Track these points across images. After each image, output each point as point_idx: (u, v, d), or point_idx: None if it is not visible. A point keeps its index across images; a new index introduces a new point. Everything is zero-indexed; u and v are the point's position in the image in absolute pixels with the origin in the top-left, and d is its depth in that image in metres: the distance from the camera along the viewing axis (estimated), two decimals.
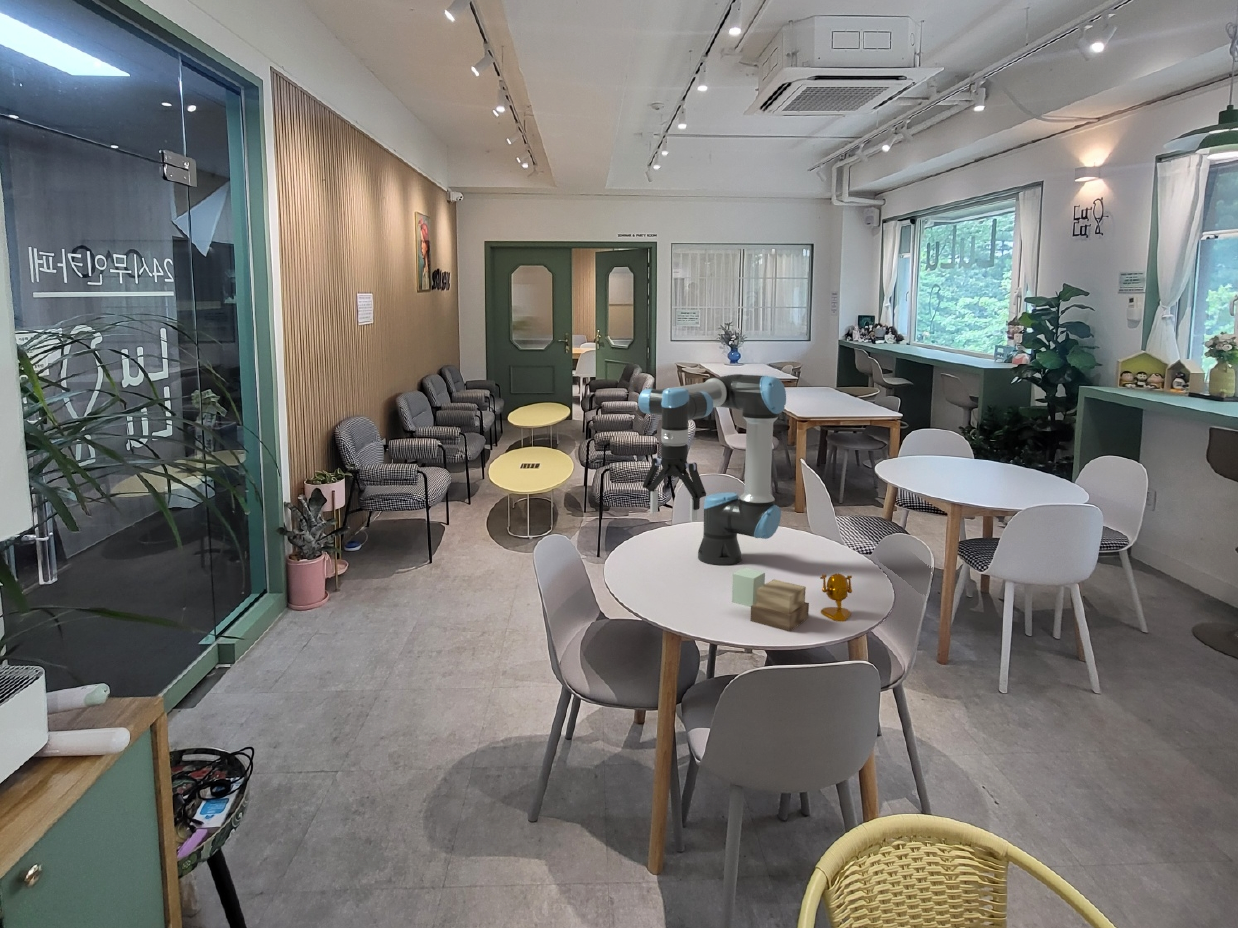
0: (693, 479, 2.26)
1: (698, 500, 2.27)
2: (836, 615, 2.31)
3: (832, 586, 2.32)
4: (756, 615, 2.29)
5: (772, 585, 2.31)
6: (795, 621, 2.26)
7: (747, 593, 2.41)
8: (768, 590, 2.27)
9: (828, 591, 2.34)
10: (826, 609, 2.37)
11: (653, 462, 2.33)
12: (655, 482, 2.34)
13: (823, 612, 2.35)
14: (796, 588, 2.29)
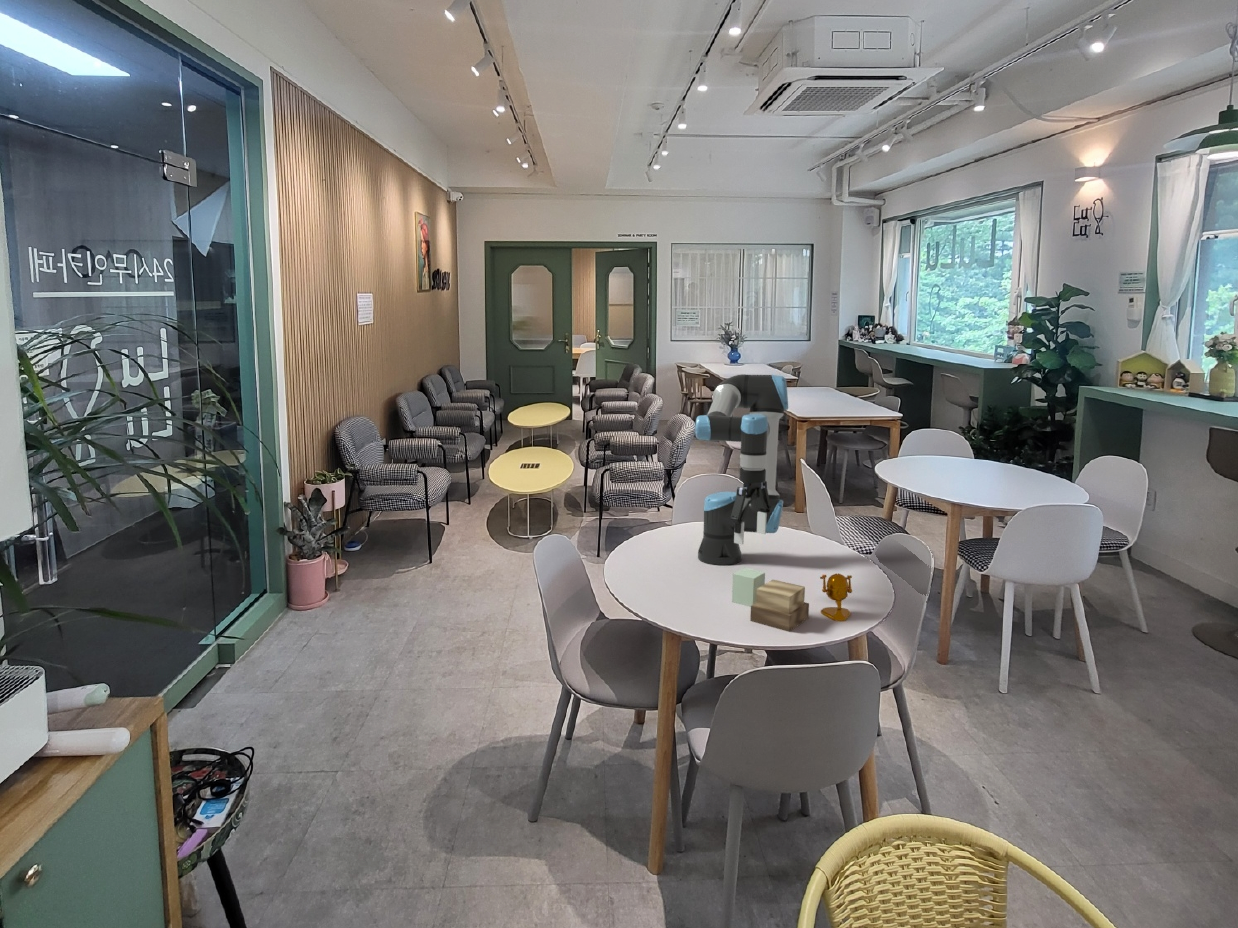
0: None
1: (736, 524, 2.33)
2: (836, 615, 2.31)
3: (832, 586, 2.32)
4: (756, 615, 2.29)
5: (771, 585, 2.31)
6: (795, 621, 2.25)
7: (747, 593, 2.41)
8: (768, 590, 2.27)
9: (828, 591, 2.34)
10: (826, 609, 2.37)
11: None
12: None
13: (823, 612, 2.35)
14: (795, 588, 2.29)
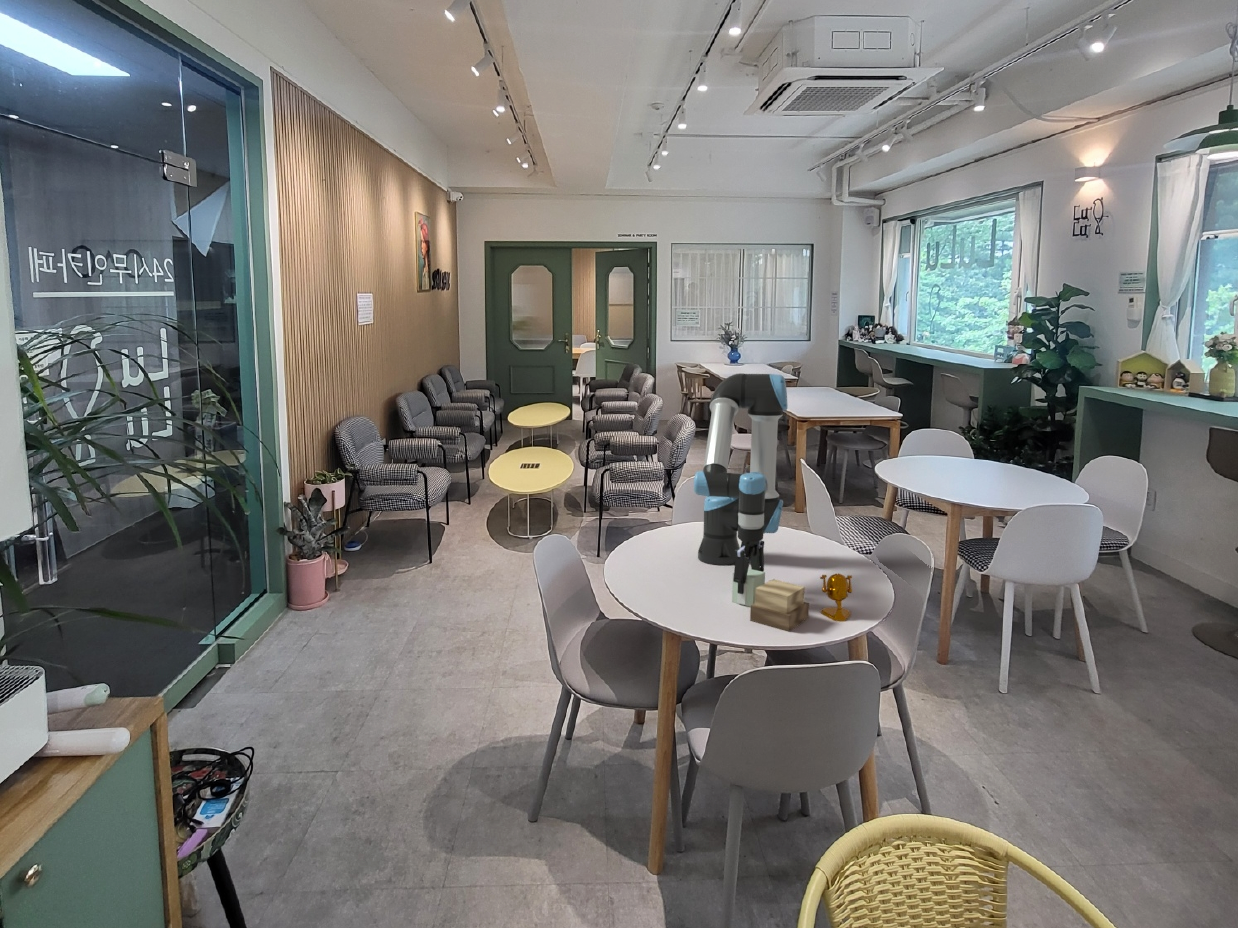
0: None
1: (739, 585, 2.40)
2: (836, 615, 2.31)
3: (832, 586, 2.32)
4: (756, 614, 2.29)
5: (771, 585, 2.31)
6: (795, 621, 2.25)
7: (747, 593, 2.41)
8: (766, 590, 2.27)
9: (828, 591, 2.34)
10: (826, 609, 2.37)
11: None
12: None
13: (823, 612, 2.35)
14: (794, 588, 2.28)
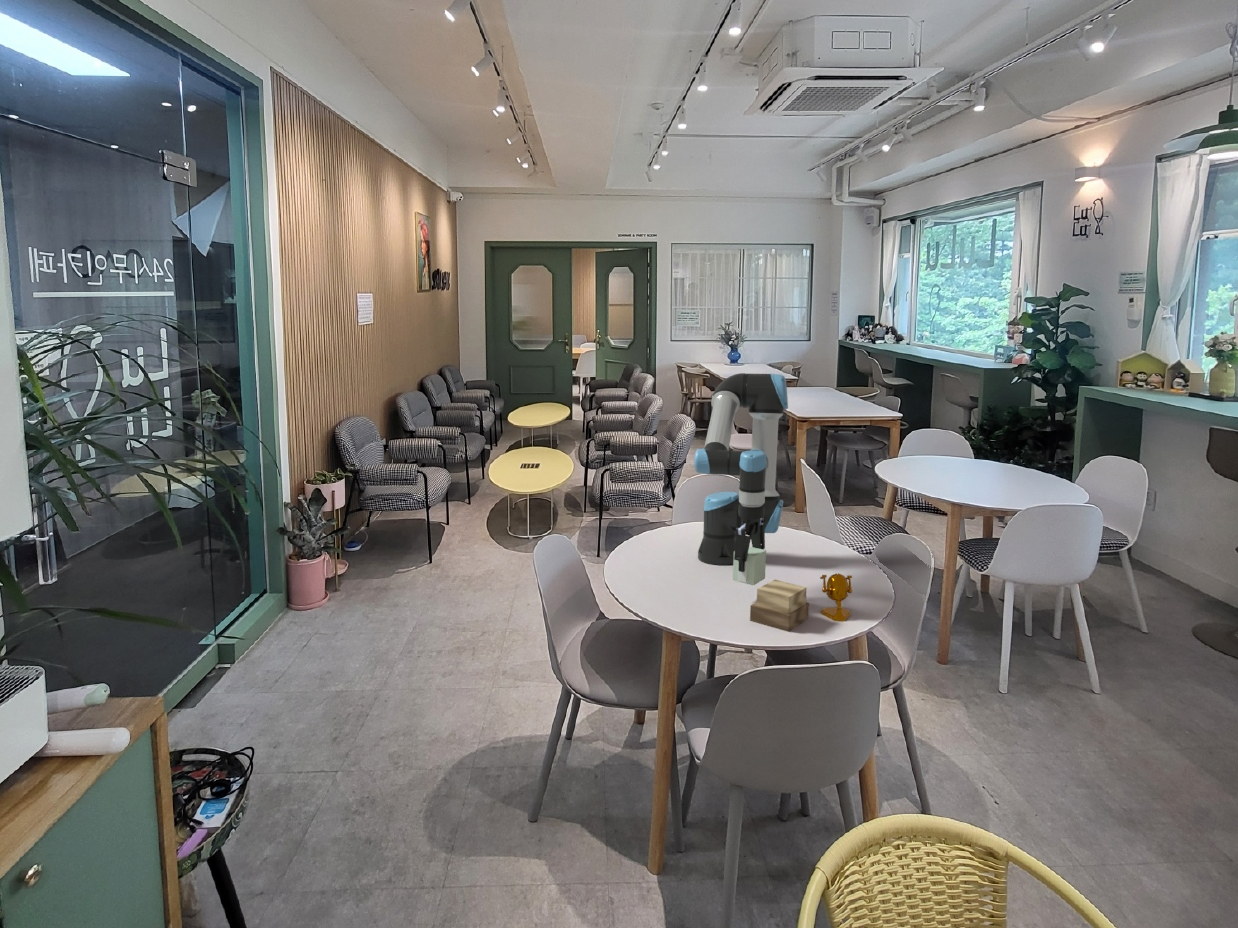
0: None
1: (740, 563, 2.39)
2: (836, 615, 2.31)
3: (832, 586, 2.32)
4: (756, 614, 2.29)
5: (772, 585, 2.31)
6: (794, 621, 2.25)
7: (748, 571, 2.40)
8: (768, 590, 2.27)
9: (828, 591, 2.34)
10: (826, 609, 2.37)
11: None
12: None
13: (823, 612, 2.35)
14: (796, 588, 2.28)
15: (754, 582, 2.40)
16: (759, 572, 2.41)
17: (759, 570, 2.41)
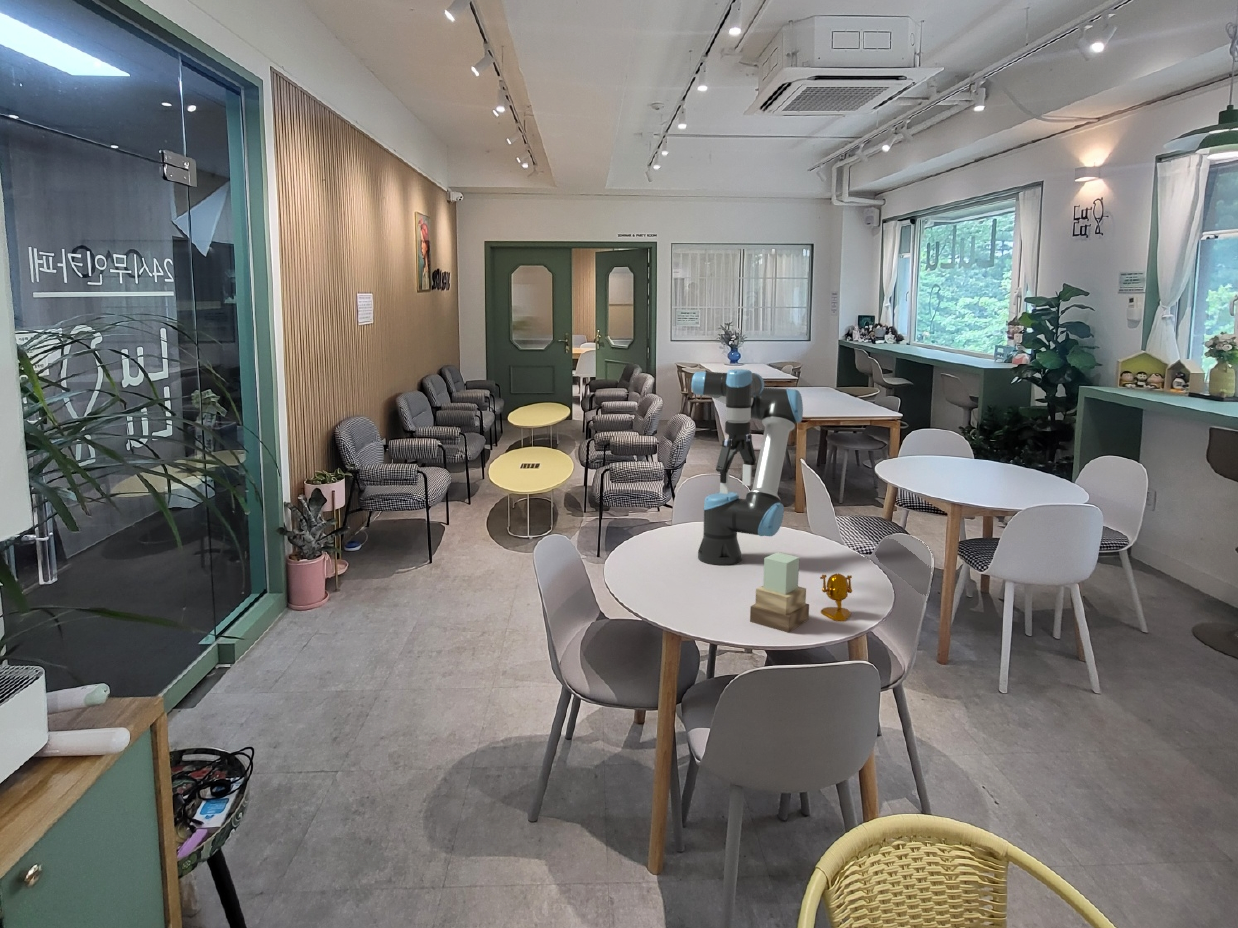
0: None
1: (722, 474, 2.43)
2: (836, 615, 2.31)
3: (832, 586, 2.32)
4: (756, 615, 2.28)
5: None
6: (795, 622, 2.25)
7: (780, 579, 2.24)
8: (767, 590, 2.27)
9: (828, 591, 2.34)
10: (826, 609, 2.37)
11: None
12: None
13: (823, 612, 2.35)
14: (795, 589, 2.27)
15: (786, 591, 2.24)
16: (792, 580, 2.26)
17: (792, 578, 2.26)
